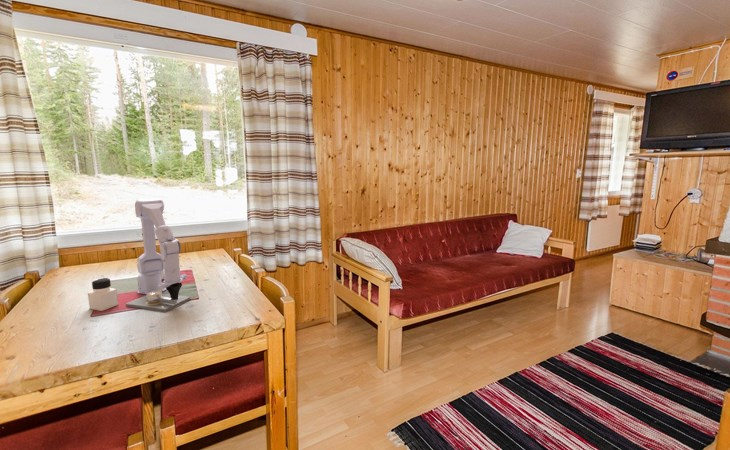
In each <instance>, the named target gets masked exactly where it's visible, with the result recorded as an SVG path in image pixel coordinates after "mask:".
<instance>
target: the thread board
mask: <svg viewBox="0 0 730 450" xmlns="http://www.w3.org/2000/svg"><path fill="white" fill-rule="evenodd" d="M162 297H168V298H171V296H170V294H169V293H163V292H162ZM190 299H191V296H186V295H179V294H178V300H177V304H169V303H164V302H159V303H154V304H149V303H147V294H144V295H142V296H141V297H138V298H136V299H133V300H131V301H128V302H126V303H125V307H127V306H128V308H129V307H130V308H134V307H135V308H136V309H141V308H142V309H143V310H147V309H148V310H150V311H155V312H162V313H167V312H168V311H170V310H172V309H174V308H177V307H178V306H181V305H182V304H185V303H186V302H189V301H190ZM142 309H141V310H142Z"/></svg>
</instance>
